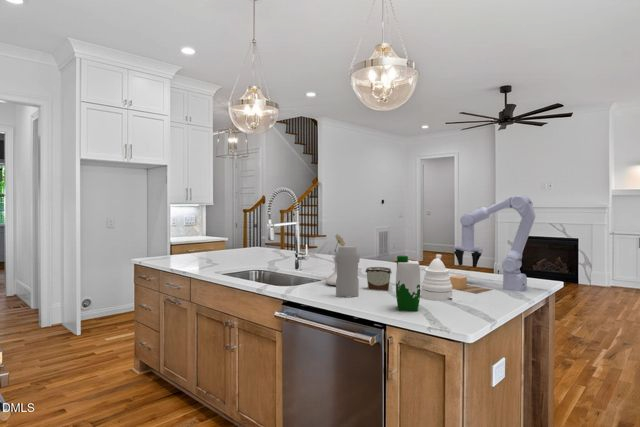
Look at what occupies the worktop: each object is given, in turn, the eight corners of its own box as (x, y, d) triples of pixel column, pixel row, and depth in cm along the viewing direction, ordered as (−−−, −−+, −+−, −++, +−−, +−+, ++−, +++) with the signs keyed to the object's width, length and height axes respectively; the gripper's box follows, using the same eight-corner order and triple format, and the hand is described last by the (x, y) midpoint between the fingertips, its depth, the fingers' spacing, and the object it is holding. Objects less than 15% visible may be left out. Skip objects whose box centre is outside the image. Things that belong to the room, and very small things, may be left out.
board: (493, 292, 182) (493, 289, 182) (476, 296, 173) (476, 293, 173) (462, 286, 195) (462, 283, 195) (444, 290, 186) (444, 287, 186)
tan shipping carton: (466, 288, 185) (466, 277, 185) (459, 289, 182) (460, 278, 182) (456, 286, 189) (456, 275, 189) (449, 287, 186) (449, 276, 186)
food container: (393, 288, 189) (393, 267, 189) (391, 291, 183) (391, 269, 183) (367, 286, 193) (368, 266, 193) (365, 289, 187) (365, 268, 187)
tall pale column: (335, 297, 170) (335, 246, 170) (334, 295, 175) (334, 245, 174) (360, 297, 171) (360, 245, 171) (358, 295, 175) (358, 244, 175)
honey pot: (427, 292, 181) (427, 252, 181) (456, 296, 174) (456, 255, 173) (416, 297, 171) (417, 255, 170) (446, 302, 163) (447, 258, 163)
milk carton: (395, 305, 158) (396, 254, 158) (419, 306, 157) (419, 255, 156) (395, 311, 150) (396, 257, 149) (420, 312, 148) (421, 258, 148)
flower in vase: (349, 287, 192) (349, 235, 191) (325, 287, 192) (325, 234, 191) (347, 281, 205) (348, 233, 204) (325, 281, 205) (325, 232, 204)
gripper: (450, 238, 200) (449, 265, 200) (477, 240, 189) (476, 268, 189) (458, 237, 204) (457, 263, 205) (485, 239, 193) (484, 267, 193)
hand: (467, 266), depth 197 cm, fingers open, 7 cm apart
